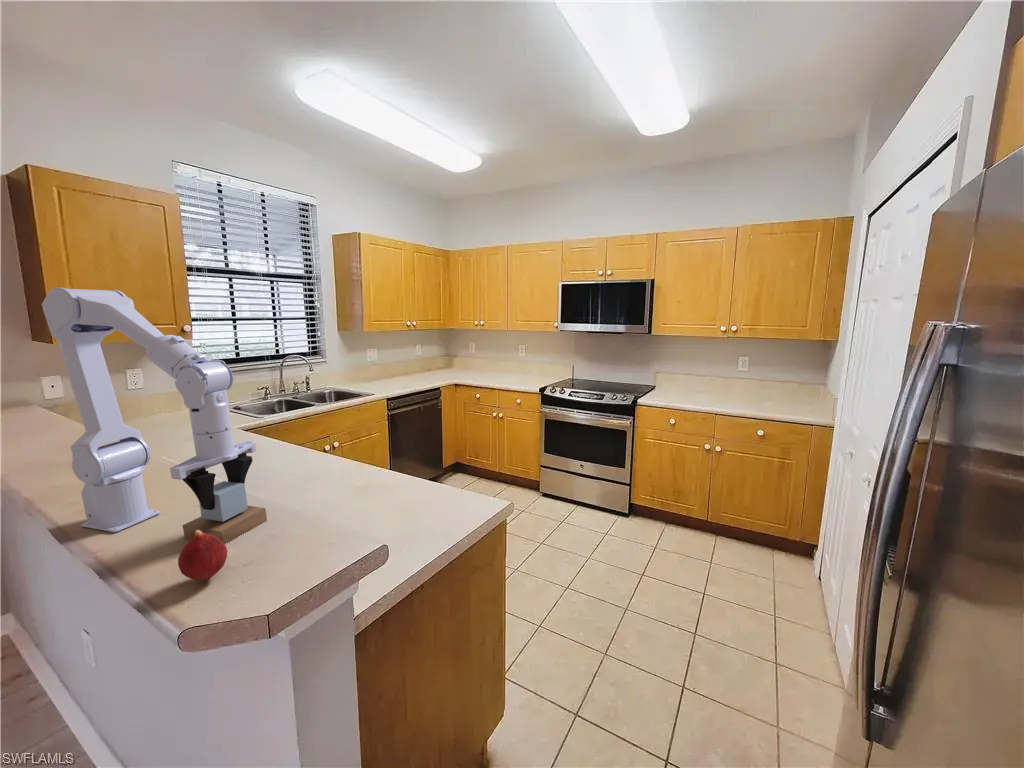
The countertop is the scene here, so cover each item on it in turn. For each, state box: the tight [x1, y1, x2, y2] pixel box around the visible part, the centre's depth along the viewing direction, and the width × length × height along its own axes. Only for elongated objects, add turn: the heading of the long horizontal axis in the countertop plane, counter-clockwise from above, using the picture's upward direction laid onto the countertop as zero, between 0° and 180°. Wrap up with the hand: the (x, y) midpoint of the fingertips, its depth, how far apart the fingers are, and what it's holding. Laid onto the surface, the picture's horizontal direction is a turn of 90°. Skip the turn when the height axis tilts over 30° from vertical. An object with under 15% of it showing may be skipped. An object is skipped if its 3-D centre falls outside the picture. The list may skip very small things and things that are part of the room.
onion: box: [177, 530, 228, 582], centre depth 62 cm, size 6×6×8 cm
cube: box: [198, 480, 249, 522], centre depth 77 cm, size 5×5×5 cm
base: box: [182, 505, 268, 545], centre depth 78 cm, size 9×9×3 cm
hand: (223, 501), depth 77 cm, fingers closed on cube, 5 cm apart
